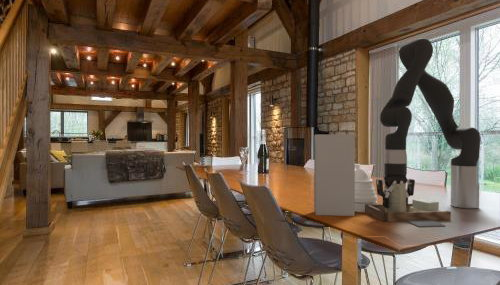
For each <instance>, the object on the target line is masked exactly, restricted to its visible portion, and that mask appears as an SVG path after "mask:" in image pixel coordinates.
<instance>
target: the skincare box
mask: <svg viewBox="0 0 500 285" xmlns="http://www.w3.org/2000/svg"><path fill="white" fill-rule="evenodd" d="M406 184H407V183H406ZM406 184H395V185H394V188H393V190H392V192H391V193H390V194H389V196H388V198H389V208H385V212H406V191H405V187H406V188H407V185H406ZM384 188H386V189H389V187H388V186H387V185H386V184H385V183H384Z"/></svg>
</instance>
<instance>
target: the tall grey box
mask: <svg viewBox="0 0 500 285" xmlns="http://www.w3.org/2000/svg"><path fill="white" fill-rule="evenodd" d="M313 141H314V142H313V143H314V144H313V145H314V149H313V150H314V154H313V155H314V156H313V157H314V159H313V161H314V163H313V164H314V169H313V170H314V171H313V172H314V173H313V174H314V176H313V177H314V178H313V179H314V180H313V181H314V182H313V186H314V187H313V190H314V191H313V194H314V195H313V196H314V197H313V199H314V200H313V201H314V202H313V212H314V213H315V215H316V216H341V217H343V216H345V217H346V216H347V217H348V216H349V217H355V212H356V211H355V171H356V168H355V164H356V162H355V161H356V158H355V156H356V135H355V134H314V139H313Z"/></svg>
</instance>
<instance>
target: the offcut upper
mask: <svg viewBox="0 0 500 285" xmlns="http://www.w3.org/2000/svg"><path fill="white" fill-rule="evenodd" d="M411 201H412V202H411V204H412V208H416V209H420V210H424V211H437V210H440V209H439V206H440V205H439V204H440V202H439V201H436V200H429V199H427V198H426V199H425V198H416V199H412V200H411Z"/></svg>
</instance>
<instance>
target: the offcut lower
mask: <svg viewBox="0 0 500 285" xmlns="http://www.w3.org/2000/svg"><path fill="white" fill-rule="evenodd" d="M437 211H441V210H440V209H439V210H437ZM410 212H425V211H424V210H420V209H416V208H412V207H410Z"/></svg>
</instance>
